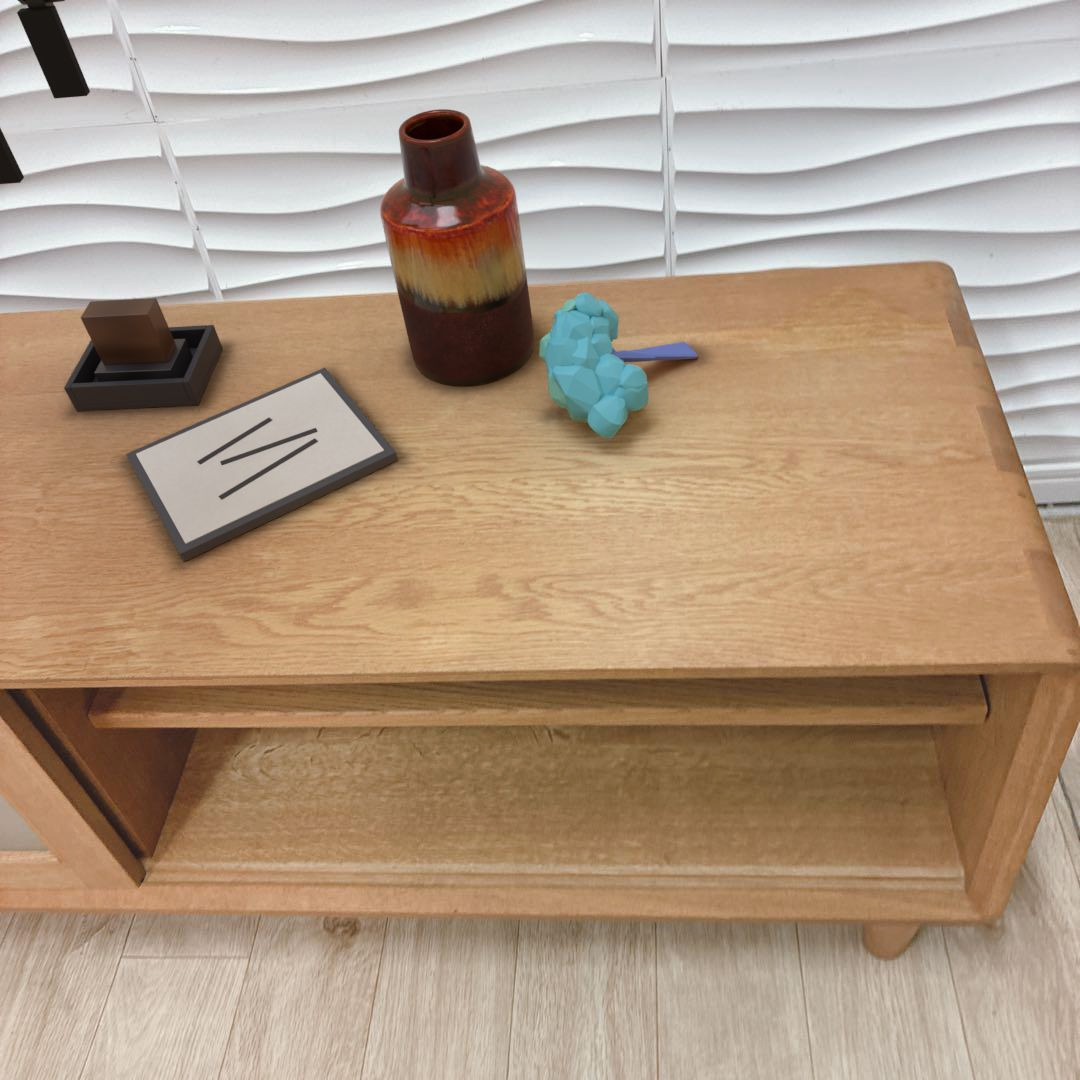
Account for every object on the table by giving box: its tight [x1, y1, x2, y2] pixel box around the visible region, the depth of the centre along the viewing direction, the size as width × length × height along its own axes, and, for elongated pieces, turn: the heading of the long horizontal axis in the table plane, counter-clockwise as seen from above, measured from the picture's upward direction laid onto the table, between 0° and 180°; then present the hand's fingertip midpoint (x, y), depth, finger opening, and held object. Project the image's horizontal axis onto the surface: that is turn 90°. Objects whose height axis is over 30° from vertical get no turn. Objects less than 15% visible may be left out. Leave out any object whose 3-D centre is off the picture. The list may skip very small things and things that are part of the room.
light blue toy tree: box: [539, 291, 699, 439], centre depth 87 cm, size 11×9×15 cm
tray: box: [63, 324, 223, 412], centre depth 95 cm, size 11×8×3 cm
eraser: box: [80, 297, 193, 382], centre depth 93 cm, size 7×4×7 cm, turn 86°
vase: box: [379, 108, 535, 387], centre depth 87 cm, size 11×11×20 cm
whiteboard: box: [125, 367, 399, 562], centre depth 87 cm, size 18×14×1 cm
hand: (40, 136), depth 80 cm, fingers open, 13 cm apart
